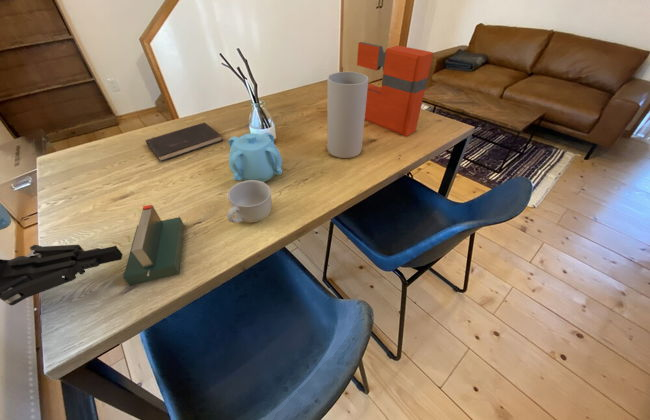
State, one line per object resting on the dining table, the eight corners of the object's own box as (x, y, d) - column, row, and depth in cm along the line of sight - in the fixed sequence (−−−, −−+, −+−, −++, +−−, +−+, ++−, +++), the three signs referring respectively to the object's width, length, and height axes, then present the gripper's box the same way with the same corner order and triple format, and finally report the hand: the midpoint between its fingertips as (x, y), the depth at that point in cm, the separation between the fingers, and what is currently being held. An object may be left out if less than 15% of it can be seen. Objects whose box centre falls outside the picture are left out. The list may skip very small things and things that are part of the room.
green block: (198, 273, 61) (193, 264, 59) (107, 295, 58) (98, 286, 55) (200, 219, 74) (196, 210, 72) (125, 234, 70) (119, 225, 68)
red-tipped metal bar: (154, 266, 59) (141, 247, 55) (144, 268, 59) (130, 250, 55) (162, 222, 69) (152, 204, 65) (154, 224, 69) (142, 205, 64)
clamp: (354, 105, 132) (359, 36, 113) (418, 129, 113) (437, 51, 94) (340, 111, 127) (343, 40, 108) (405, 136, 108) (422, 56, 89)
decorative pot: (282, 158, 97) (277, 121, 88) (284, 185, 85) (279, 146, 76) (235, 162, 95) (225, 125, 86) (230, 190, 83) (218, 150, 74)
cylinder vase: (367, 148, 102) (375, 76, 85) (349, 163, 94) (354, 87, 78) (339, 138, 107) (342, 69, 90) (320, 152, 100) (319, 79, 83)
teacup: (255, 196, 81) (250, 174, 76) (282, 211, 76) (279, 188, 71) (216, 224, 73) (208, 201, 67) (244, 242, 68) (237, 219, 63)
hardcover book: (222, 140, 107) (221, 135, 105) (160, 162, 95) (158, 156, 94) (205, 127, 115) (203, 121, 114) (147, 145, 104) (144, 139, 103)
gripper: (9, 267, 58) (133, 241, 63) (-28, 325, 49) (120, 289, 54) (-21, 244, 53) (116, 218, 58) (-70, 304, 44) (99, 266, 49)
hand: (118, 252), depth 56 cm, fingers closed
